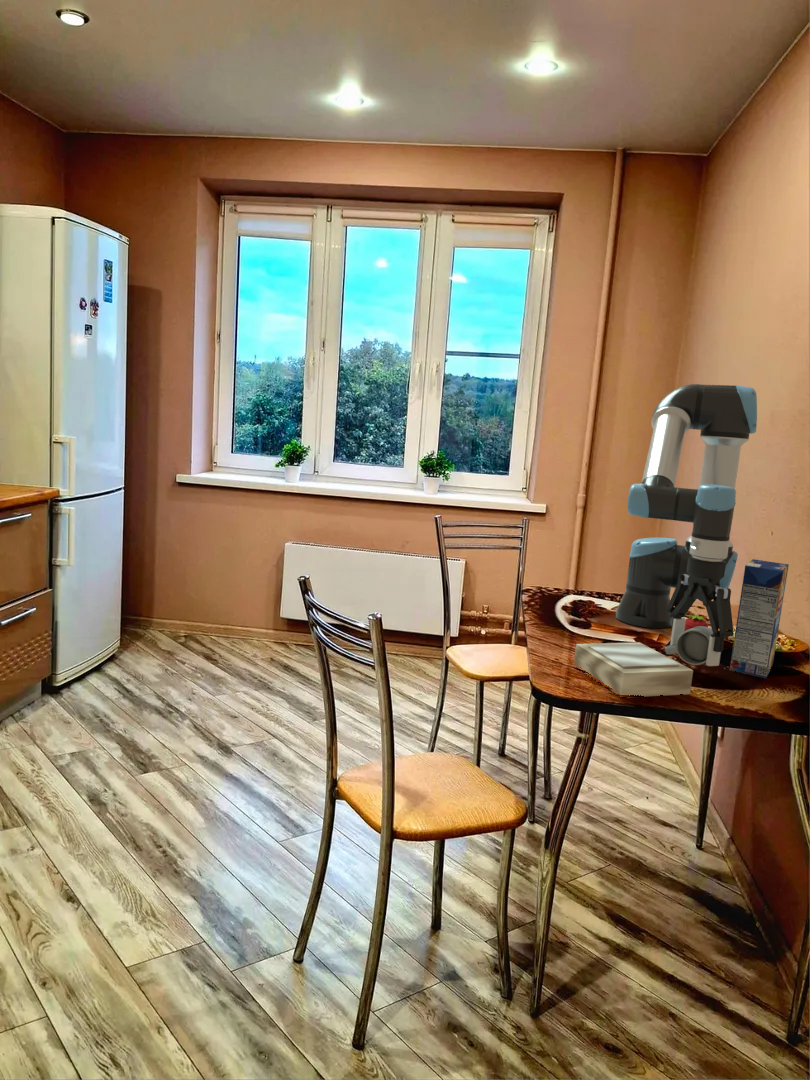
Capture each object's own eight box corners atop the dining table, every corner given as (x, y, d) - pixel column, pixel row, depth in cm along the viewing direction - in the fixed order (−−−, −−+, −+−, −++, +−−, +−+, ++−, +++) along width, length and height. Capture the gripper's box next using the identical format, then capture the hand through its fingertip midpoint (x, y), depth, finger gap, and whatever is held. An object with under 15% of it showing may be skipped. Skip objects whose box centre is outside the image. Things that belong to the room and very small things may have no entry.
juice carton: (738, 657, 172) (753, 559, 168) (772, 665, 168) (788, 564, 164) (729, 670, 162) (745, 565, 158) (766, 678, 158) (783, 571, 154)
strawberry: (681, 651, 173) (687, 611, 172) (677, 642, 181) (682, 604, 179) (707, 654, 172) (713, 614, 170) (702, 646, 179) (708, 607, 178)
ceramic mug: (719, 660, 158) (723, 626, 157) (710, 669, 152) (714, 634, 150) (670, 649, 164) (674, 616, 163) (659, 657, 158) (663, 623, 157)
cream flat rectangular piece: (573, 666, 157) (576, 642, 156) (636, 663, 161) (639, 640, 161) (620, 697, 140) (624, 671, 139) (689, 694, 144) (693, 668, 144)
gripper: (658, 546, 163) (646, 638, 167) (732, 570, 141) (716, 676, 145) (686, 546, 166) (673, 637, 169) (763, 570, 143) (747, 674, 147)
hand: (693, 655), depth 157 cm, fingers closed on ceramic mug, 11 cm apart
